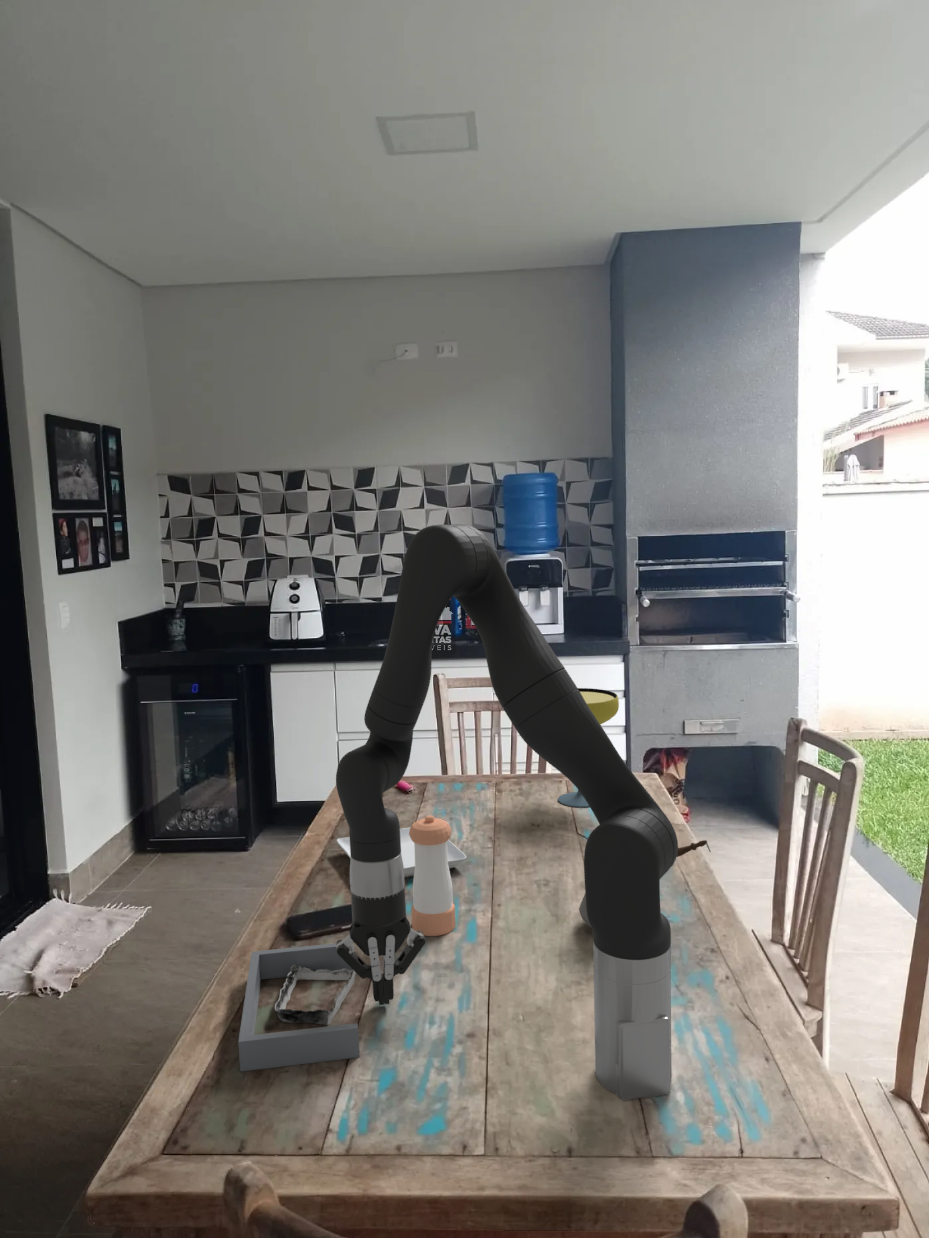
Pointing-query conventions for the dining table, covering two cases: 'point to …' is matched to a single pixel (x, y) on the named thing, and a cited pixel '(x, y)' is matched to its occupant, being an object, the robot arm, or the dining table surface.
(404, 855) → the salad plate
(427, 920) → the pepper shaker
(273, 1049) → the bin
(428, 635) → the robot arm
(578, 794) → the cocktail glass
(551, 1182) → the dining table surface
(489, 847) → the dining table surface
